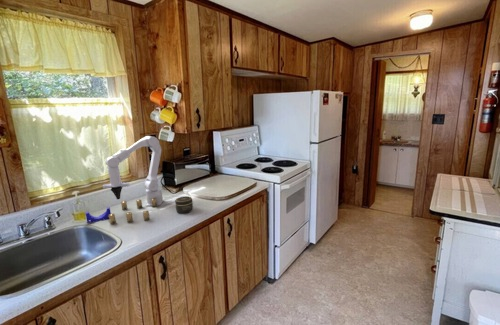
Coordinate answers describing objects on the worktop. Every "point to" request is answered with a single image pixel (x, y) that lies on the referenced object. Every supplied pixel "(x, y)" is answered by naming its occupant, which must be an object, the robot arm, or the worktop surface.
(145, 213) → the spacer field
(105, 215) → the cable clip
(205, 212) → the worktop surface
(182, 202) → the jar
